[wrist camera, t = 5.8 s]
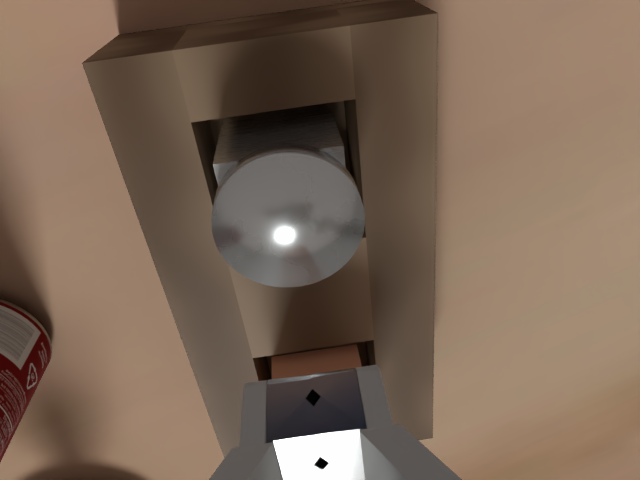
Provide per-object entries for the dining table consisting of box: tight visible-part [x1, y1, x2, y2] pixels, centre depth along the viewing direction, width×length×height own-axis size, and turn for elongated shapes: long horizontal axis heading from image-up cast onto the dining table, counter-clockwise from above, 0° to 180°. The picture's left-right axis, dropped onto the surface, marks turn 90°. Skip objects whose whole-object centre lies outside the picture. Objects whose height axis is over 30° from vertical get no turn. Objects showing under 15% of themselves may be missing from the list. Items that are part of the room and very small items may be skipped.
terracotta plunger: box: [271, 344, 362, 379], centre depth 24 cm, size 5×5×7 cm
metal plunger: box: [211, 103, 365, 287], centre depth 20 cm, size 5×5×7 cm
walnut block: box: [82, 0, 438, 458], centre depth 25 cm, size 12×23×5 cm, turn 7°
